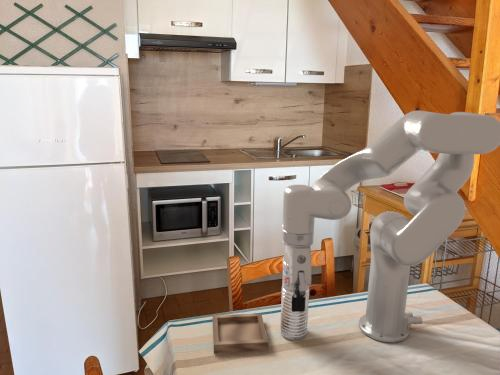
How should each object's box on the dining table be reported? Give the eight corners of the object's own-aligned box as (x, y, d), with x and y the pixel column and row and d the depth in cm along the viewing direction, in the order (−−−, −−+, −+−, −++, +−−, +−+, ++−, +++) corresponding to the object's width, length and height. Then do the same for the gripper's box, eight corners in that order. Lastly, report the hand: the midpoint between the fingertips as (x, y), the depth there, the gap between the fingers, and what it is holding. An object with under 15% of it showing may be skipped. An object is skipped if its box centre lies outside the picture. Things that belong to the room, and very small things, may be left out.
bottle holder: (261, 321, 116) (261, 313, 115) (268, 350, 103) (268, 342, 103) (212, 323, 114) (212, 315, 114) (213, 353, 102) (213, 344, 101)
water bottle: (305, 343, 106) (310, 248, 100) (278, 339, 108) (281, 245, 101) (307, 327, 113) (312, 238, 107) (281, 324, 114) (285, 235, 108)
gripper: (322, 249, 96) (318, 321, 100) (304, 224, 112) (301, 286, 117) (289, 250, 95) (286, 322, 99) (276, 224, 112) (274, 287, 116)
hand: (294, 302), depth 108 cm, fingers closed on water bottle, 6 cm apart
